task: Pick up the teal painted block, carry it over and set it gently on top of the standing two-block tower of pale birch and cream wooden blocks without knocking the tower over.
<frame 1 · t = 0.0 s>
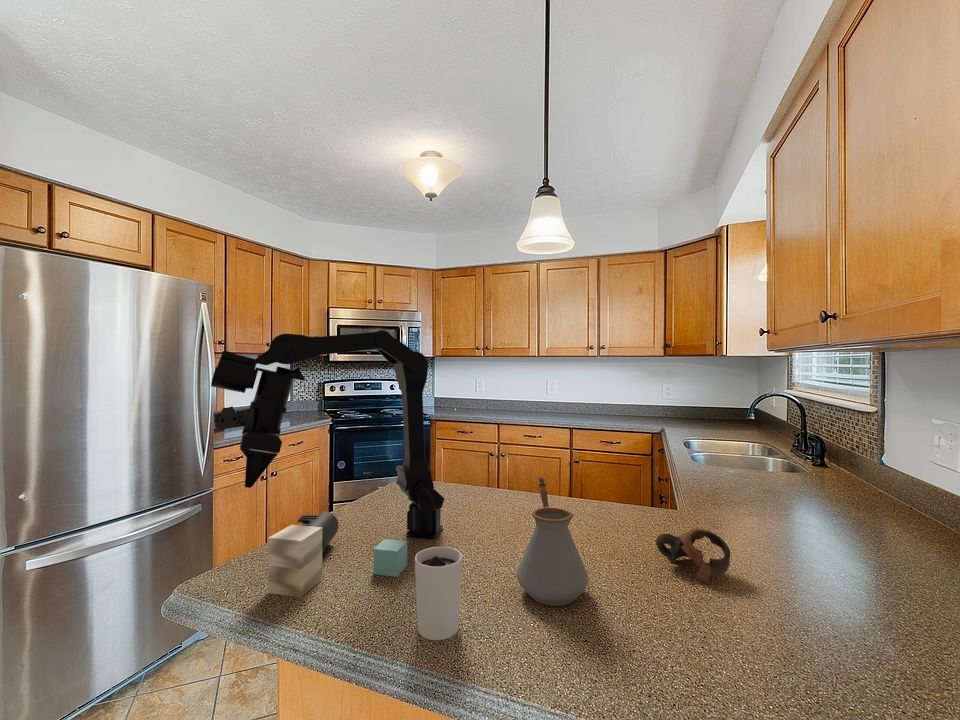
hand: (248, 481, 82), 15 cm above the table, tool pointing down, fingers open, 9 cm apart
tower middle block: (296, 559, 75), point 4 cm above the table, touching tower bottom block
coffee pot: (548, 579, 77), on the table
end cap: (313, 554, 87), on the table
tower bottom block: (296, 586, 74), on the table, touching tower middle block
white cup: (438, 629, 63), on the table
brown curved piece: (691, 571, 80), on the table
teal block: (390, 570, 80), on the table
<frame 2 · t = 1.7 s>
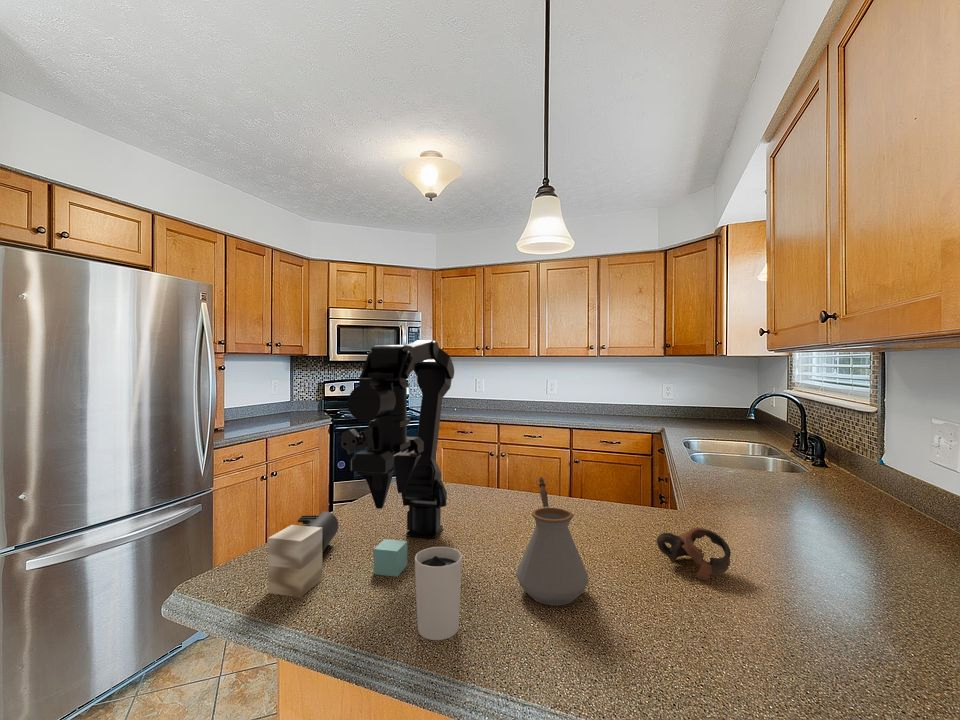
hand: (390, 500, 81), 12 cm above the table, tool pointing down, fingers open, 9 cm apart
tower middle block: (296, 559, 74), point 4 cm above the table
tower bottom block: (296, 586, 74), on the table
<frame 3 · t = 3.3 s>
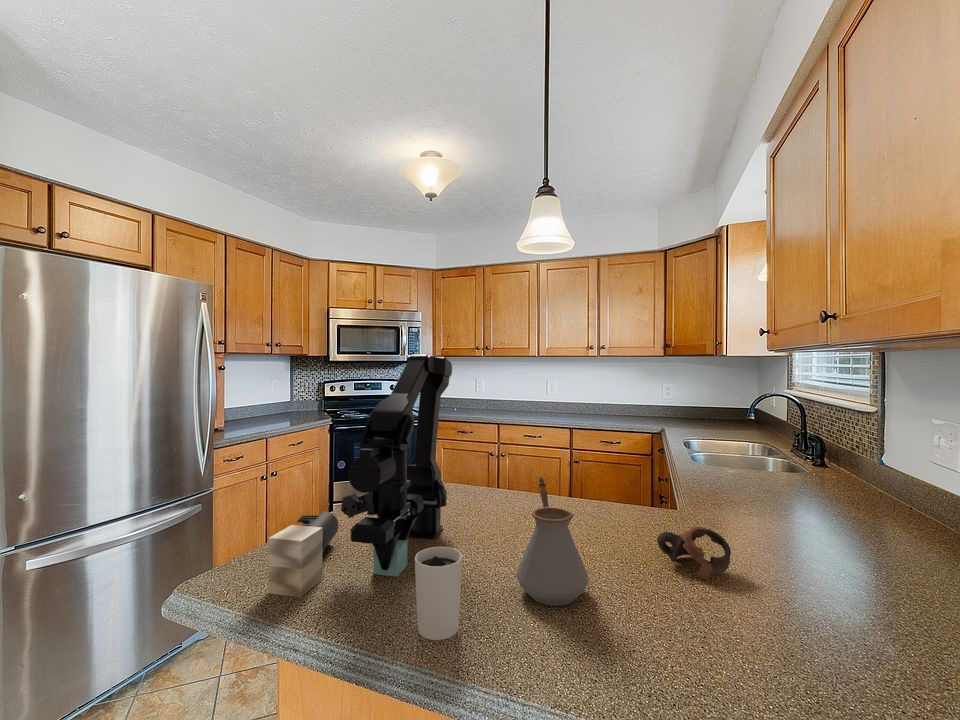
hand: (390, 563, 80), 1 cm above the table, tool pointing down, fingers closed on teal block, 4 cm apart
tower middle block: (296, 559, 74), point 4 cm above the table, touching tower bottom block
tower bottom block: (296, 586, 74), on the table, touching tower middle block
teal block: (390, 569, 80), on the table, touching gripper
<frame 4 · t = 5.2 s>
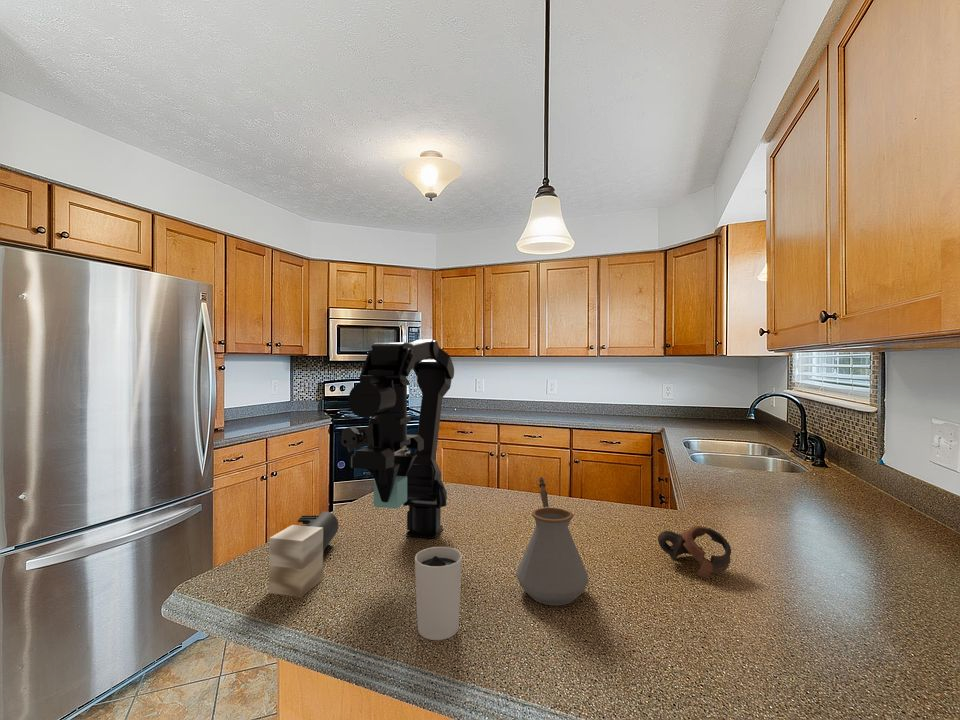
hand: (390, 497, 80), 13 cm above the table, tool pointing down, fingers closed on teal block, 4 cm apart
teal block: (390, 503, 80), point 12 cm above the table, touching gripper
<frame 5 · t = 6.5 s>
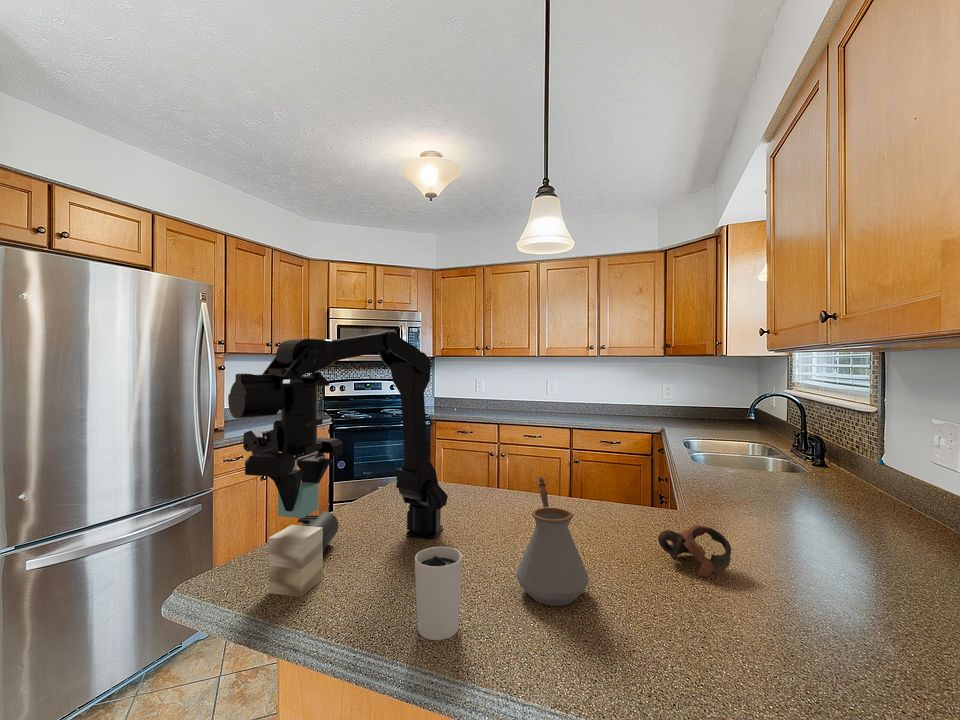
hand: (298, 506, 75), 13 cm above the table, tool pointing down, fingers closed on teal block, 4 cm apart
teal block: (298, 512, 75), point 12 cm above the table, touching gripper
when the fingers open (11 cm above the table, at t = 7.2 s): teal block drops 2 cm, resting on tower middle block.
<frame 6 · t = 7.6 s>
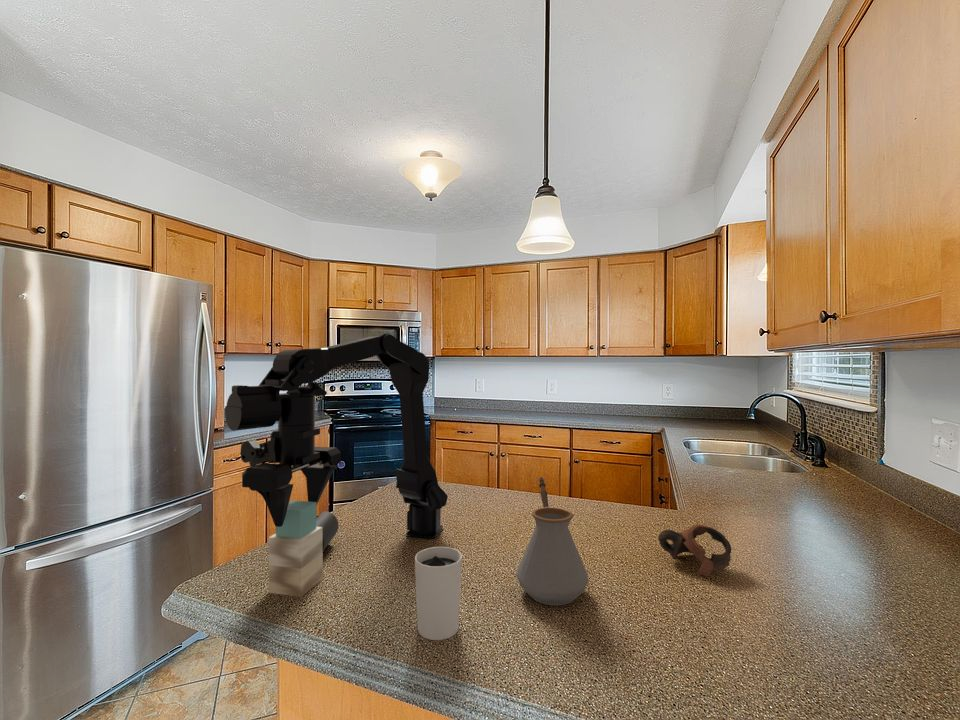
hand: (296, 516, 75), 11 cm above the table, tool pointing down, fingers open, 9 cm apart
tower middle block: (296, 558, 75), point 4 cm above the table, touching teal block, tower bottom block
teal block: (296, 532, 75), point 9 cm above the table, touching tower middle block
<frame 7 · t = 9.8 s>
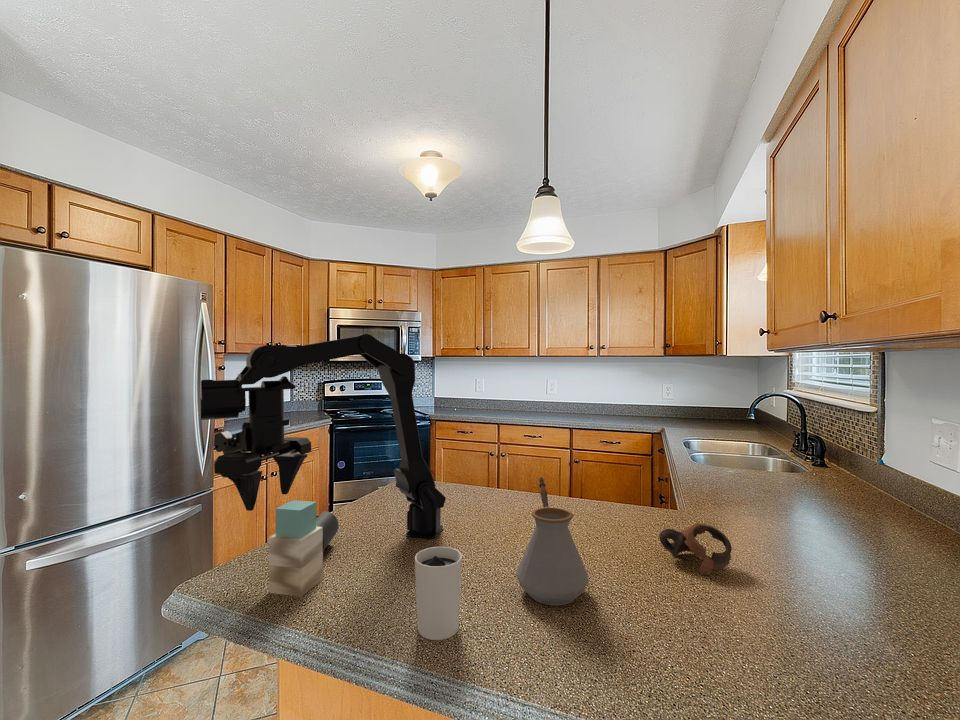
hand: (268, 501, 80), 12 cm above the table, tool pointing down, fingers open, 9 cm apart
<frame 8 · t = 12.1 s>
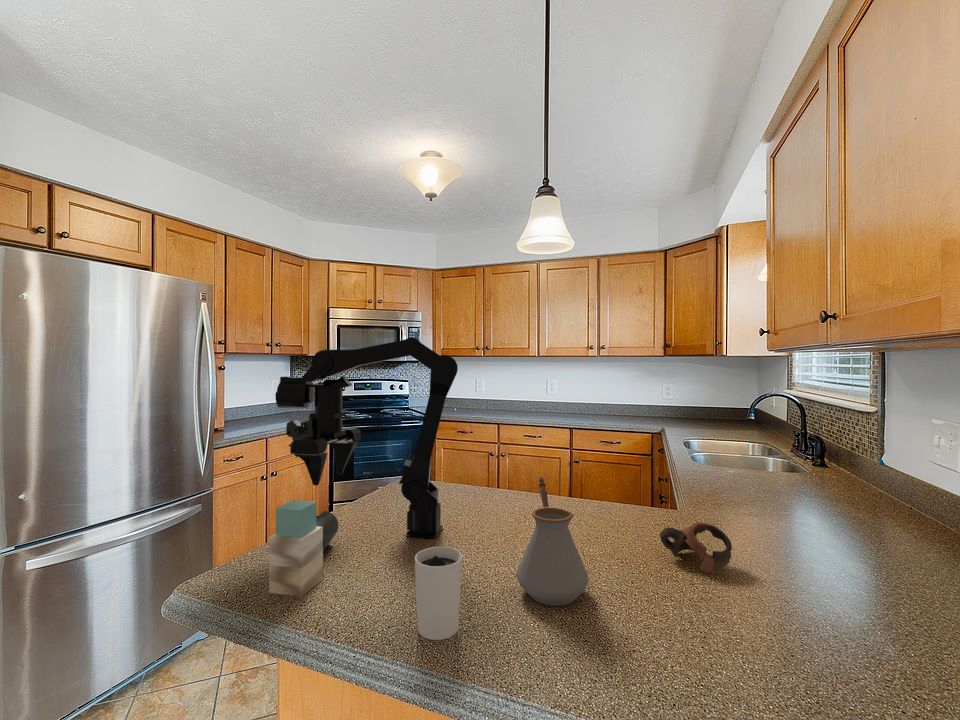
hand: (328, 479, 97), 12 cm above the table, tool pointing down, fingers open, 9 cm apart
at the end: teal block 0.0 cm off-centre on the tower middle block, point 4.5 cm above the tower middle block's base; tower middle block moved 0.1 cm from its start; tower bottom block tilted 0° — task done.
